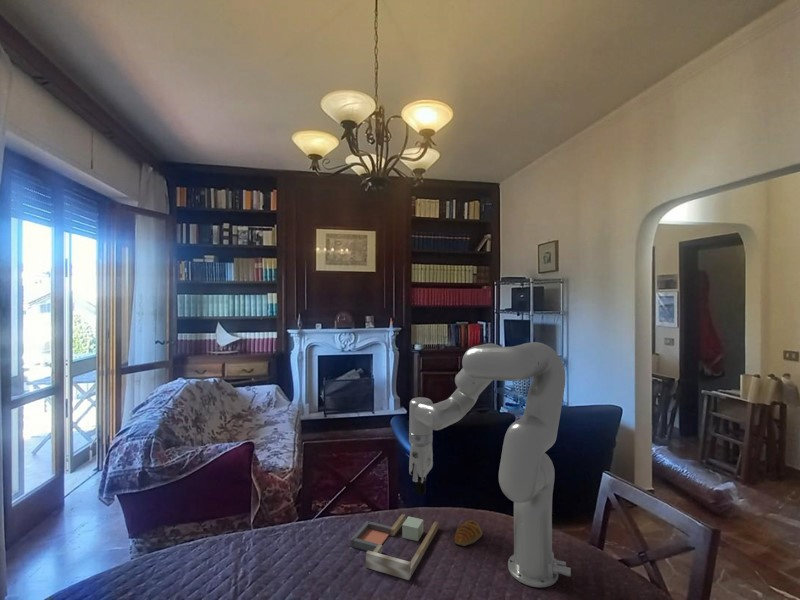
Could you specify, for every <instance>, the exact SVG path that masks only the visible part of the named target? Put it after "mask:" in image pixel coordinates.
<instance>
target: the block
mask: <svg viewBox="0 0 800 600" xmlns="http://www.w3.org/2000/svg"><path fill="white" fill-rule="evenodd" d="M401 530H402V531H401V533H402V534H401V535H402V536H401V538H403V539H407V540H411V541H415V542H419V540H420V539H421V537H422V535H423V534H424V519H422V518H418V517H413V516H409V515H408V516H407V518H405V522H404V523H403V524H402V526H401Z"/></svg>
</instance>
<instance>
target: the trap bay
mask: <svg viewBox="0 0 800 600" xmlns="http://www.w3.org/2000/svg"><path fill="white" fill-rule="evenodd" d="M391 527H392V526H390V525H387V524H381V523H378V522H373V521H369V520H366V521H365V522H364V523H363V524H362V525H361V527H360V528H359V529H358V530H357V531H356V532H355V533H354V535H352V537H351V538H350V539H349V547H352V548H354V549H358V550H359V549H360V550H362V551H366V552H367V551H368V550H369V551H372V552H373V551H374V549H375V548H376V547H377V545H378V544H380V545H382V546H383V544H384V543H385V541H386V540H387V538H389V536H391V535H390V529H391Z"/></svg>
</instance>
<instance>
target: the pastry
mask: <svg viewBox="0 0 800 600" xmlns="http://www.w3.org/2000/svg"><path fill="white" fill-rule="evenodd" d="M483 532H484V531H482V528H481V526H480V525H479V523H478V522H477V521H475V520H468V519H467V521H465V522H464V523H462V524H461V525H459V527H457V529H456V531H455V535H454V542H455V545H456V544H457V545H459V546H463V547H467V546H468V545H472V544H475V542H477V541H478V540H479V539H481V537H482V535H483Z"/></svg>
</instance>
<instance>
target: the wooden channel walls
mask: <svg viewBox="0 0 800 600" xmlns="http://www.w3.org/2000/svg"><path fill="white" fill-rule="evenodd" d="M405 520H406V514H404V513H401V515H400V516H399V517H398V518H397V520H396V521H395V522H394V523H393V524H392V526H391V529H390V535H389V536H391V537H395V536H396V534H397V533H398V532H399V530H400V529H401V528H402V524H403V523H404V522H405ZM439 527H440V526H439V521H434V522H433V524H432V525H431V527H430V528H429V530H428V532H427V533H426V535H425V537H424V538H423V541H422V542H421V544H420V545H419V546H418V548H417V550H416V551H415V554H414V555H413V557H412V559H411V560H410V561H408V560H405V559H401V558H397V557H395V556H390V555H386V554H383V544H382V545H380V544H378V545H377V547H376V548H375V549H374V551H373V552H372V551H369V550H368V551H366V552H365V568H366V569H370V570H373V571H376V572H380V573H384V574H387V575H389V576H392V577H396V578H400V579H403V580H407V581H410V580H411V577H412V576H413V574H414V572H415V571H416V569H417V568H418V565H419V564H420V562H421V560H422V559H423V557H424V555H425V553H426V552H427V550H428V548H429V546H430V544H431V542H432V540H433V539H434V538H435V536H436V534H437V532H438V531H439Z"/></svg>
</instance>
